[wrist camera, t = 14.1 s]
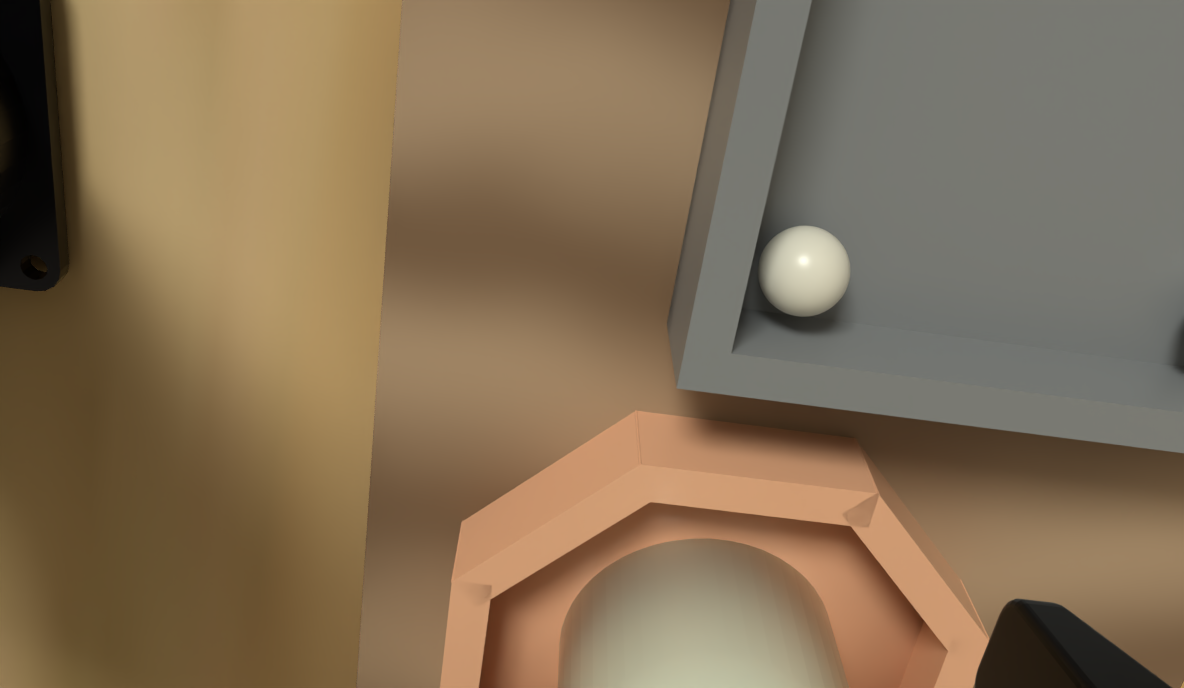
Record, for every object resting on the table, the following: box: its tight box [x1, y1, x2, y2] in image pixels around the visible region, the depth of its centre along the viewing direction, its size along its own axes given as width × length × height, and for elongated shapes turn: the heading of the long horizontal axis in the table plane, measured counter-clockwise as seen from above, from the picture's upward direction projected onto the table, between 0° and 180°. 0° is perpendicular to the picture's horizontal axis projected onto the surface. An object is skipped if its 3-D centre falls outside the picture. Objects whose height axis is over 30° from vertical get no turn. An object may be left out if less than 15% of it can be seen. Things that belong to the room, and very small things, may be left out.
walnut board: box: [356, 0, 1184, 688], centre depth 22 cm, size 29×19×1 cm, turn 172°
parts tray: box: [667, 0, 1184, 453], centre depth 18 cm, size 12×12×3 cm
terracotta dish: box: [440, 410, 989, 688], centre depth 24 cm, size 11×11×2 cm
